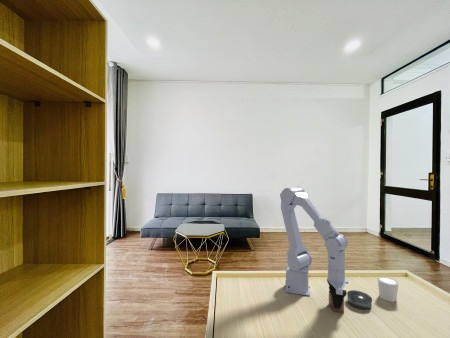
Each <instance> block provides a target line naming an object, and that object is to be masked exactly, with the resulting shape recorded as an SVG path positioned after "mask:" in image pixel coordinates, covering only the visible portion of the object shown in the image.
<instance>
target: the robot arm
mask: <svg viewBox="0 0 450 338" xmlns="http://www.w3.org/2000/svg"><path fill="white" fill-rule="evenodd" d="M279 197H280V211H281V214H282V215H281V216H282V219H283V223H284V227H285V231H286V236H287V241H288V243H289V248H288V251H287V252H286V255H287V259H286V261H287V262H286V263H287V267H286V268H285V281H284V283H285V292H286V293H290V294H296V295H303V296H308V297H309V296H310V295H311V293H310V292H311V291H310V285H309V269H310V266H311V265H312V263H313V260H312V256H311V255H310V253H309V250H308V248H307V247H306V246H304V245H303V240H302V236H301V233H300V229H299V224H298V221H297V218H296V217H297V216H296V213H295V208H296V207H297V206H299V207H301V208H302V209H303V210H304V211H305V213H306V214H307V215H308V216H309V217H310V219H311V220H312V221H313V227H314V228H315V230H316V231H317V232H318V233H319V235H320V236H321V238H322V239H323V240H324V247H325V249H326V250H327V278H326V282H327V284H328V286H329V287H328V291H330V293H331V295H332V299H333V305H334V308H339V309H341V306H342V302H343V299H344V300H345V297H346V296H347V292H348V291H347V290H345V289H344V287H345V285H346V284H347V285H348V284H349V280H348V279H346V271H345V270H346V250H345V249H346V248H347V247H348V244H349V243H348V240H347V238H346V236H345V235H343V234H342V233H340V232H339V231H337V230H336V229H335V227H334V226H333V225H332V224H331V220H330V219H327V218H326V217H324V216H322V215H321V214H320V212H319V211H318V210H317V209H316V207H315V205H314V204H313V202H312V201H311V199H310V198H309V195H308V193H307V192H306V191H305V189H304V188H303V187H301V186H297V187H296V186H295V187H285V188H283V190H282V191H281V192H280V195H279Z"/></svg>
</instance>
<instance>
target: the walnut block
mask: <svg viewBox="0 0 450 338" xmlns="http://www.w3.org/2000/svg"><path fill="white" fill-rule="evenodd" d="M328 306H329V309H330V310H331V312H332V311H333V312H337V313H343V314H344V313H345V298H344V299H343V302H342V306H341V309H339V308H334V305H333V299H332V295H331V293H330V290H328Z"/></svg>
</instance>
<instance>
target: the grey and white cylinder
mask: <svg viewBox="0 0 450 338" xmlns="http://www.w3.org/2000/svg"><path fill="white" fill-rule="evenodd" d="M377 287H378V294H379V295H378V296H379V298H381V300H384V301H386V302H391V303H394V302H397V300H398V291H399V282H398V280H396V279H393V278H391V277H388V276H387V277H386V276H379V277H377Z"/></svg>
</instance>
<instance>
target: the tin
mask: <svg viewBox="0 0 450 338" xmlns="http://www.w3.org/2000/svg"><path fill="white" fill-rule="evenodd" d="M346 292H347V294H346V296H347V303H348V304H349V305H350V306H351V307H353V308H356V309H358V310H360V311H361V310H362V311H369V310H371V308H372V302H373V298H372V297H371V295H370V294H368V293H366V292H363V291H360V290H357V289H356V290H355V289H354V290H348V291H346Z"/></svg>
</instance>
